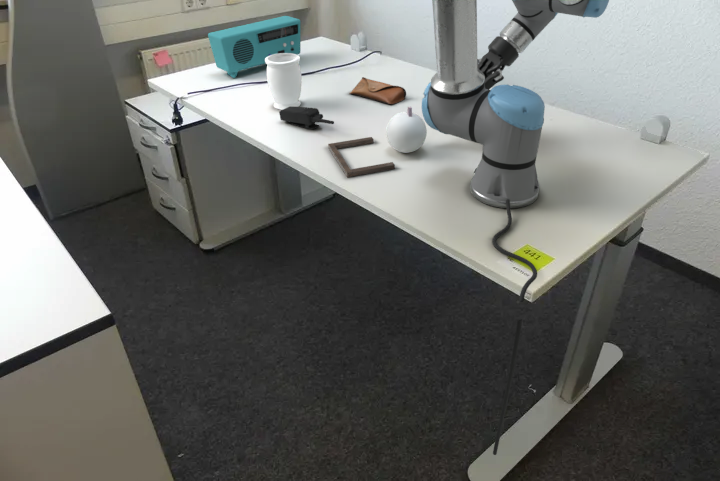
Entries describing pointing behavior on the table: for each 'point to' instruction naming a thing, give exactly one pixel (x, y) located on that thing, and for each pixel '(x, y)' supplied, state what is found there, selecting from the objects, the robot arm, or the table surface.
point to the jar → (284, 79)
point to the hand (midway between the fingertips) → (444, 117)
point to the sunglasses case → (379, 91)
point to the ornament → (406, 131)
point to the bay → (362, 170)
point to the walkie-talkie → (303, 117)
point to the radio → (254, 43)
